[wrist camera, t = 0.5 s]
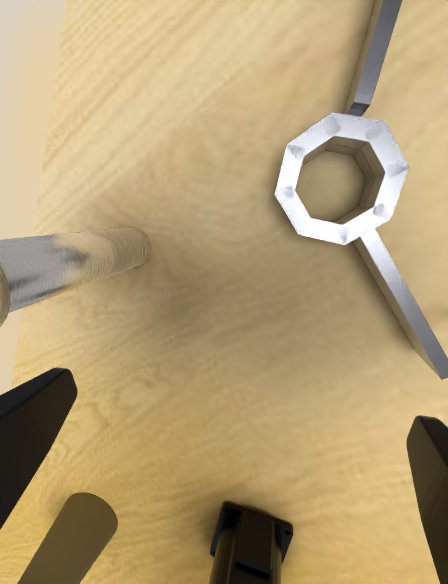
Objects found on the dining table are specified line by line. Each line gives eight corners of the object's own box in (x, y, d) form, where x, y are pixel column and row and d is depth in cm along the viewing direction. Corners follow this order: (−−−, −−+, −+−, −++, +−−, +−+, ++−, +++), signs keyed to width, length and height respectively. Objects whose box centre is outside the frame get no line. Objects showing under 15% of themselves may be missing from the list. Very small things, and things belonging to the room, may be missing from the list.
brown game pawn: (54, 504, 33) (-54, 641, 22) (91, 484, 31) (-9, 623, 20) (90, 545, 33) (0, 698, 23) (128, 528, 31) (50, 685, 21)
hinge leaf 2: (262, 173, 20) (257, 165, 17) (351, 111, 18) (366, 87, 15) (377, 367, 22) (395, 397, 18) (469, 328, 20) (508, 353, 17)
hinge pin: (152, 278, 24) (-15, 360, 11) (106, 265, 25) (-108, 329, 11) (160, 227, 23) (-17, 247, 10) (111, 215, 23) (-121, 219, 10)
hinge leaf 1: (361, 245, 20) (379, 252, 17) (270, 224, 21) (266, 227, 17) (463, -55, 16) (518, -138, 12) (341, -66, 17) (357, -147, 13)
